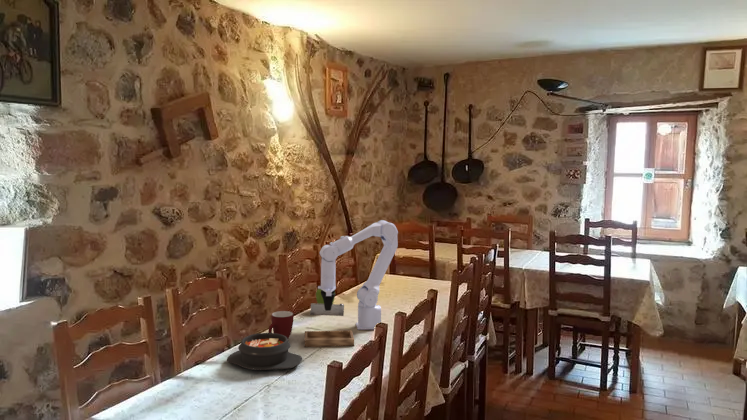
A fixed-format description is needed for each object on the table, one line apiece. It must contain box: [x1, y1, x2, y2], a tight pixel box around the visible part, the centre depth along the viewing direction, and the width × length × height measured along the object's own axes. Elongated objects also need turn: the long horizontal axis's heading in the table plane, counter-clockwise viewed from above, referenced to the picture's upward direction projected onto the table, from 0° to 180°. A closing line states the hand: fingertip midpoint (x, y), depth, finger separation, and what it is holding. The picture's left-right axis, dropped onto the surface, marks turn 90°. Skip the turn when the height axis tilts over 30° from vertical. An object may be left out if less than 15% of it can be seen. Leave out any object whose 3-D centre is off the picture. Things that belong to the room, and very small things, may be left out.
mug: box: [267, 310, 294, 340], centre depth 199 cm, size 10×8×10 cm
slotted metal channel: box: [309, 302, 345, 317], centre depth 213 cm, size 13×2×4 cm, turn 97°
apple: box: [315, 288, 335, 304], centre depth 239 cm, size 9×8×12 cm
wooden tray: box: [304, 329, 355, 348], centre depth 199 cm, size 18×10×3 cm, turn 97°
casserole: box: [226, 332, 303, 371], centre depth 177 cm, size 25×19×8 cm
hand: (327, 309), depth 213 cm, fingers closed on slotted metal channel, 2 cm apart
